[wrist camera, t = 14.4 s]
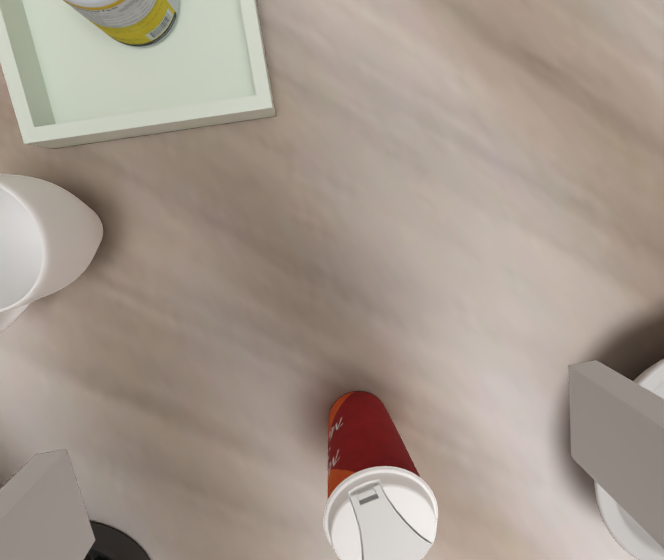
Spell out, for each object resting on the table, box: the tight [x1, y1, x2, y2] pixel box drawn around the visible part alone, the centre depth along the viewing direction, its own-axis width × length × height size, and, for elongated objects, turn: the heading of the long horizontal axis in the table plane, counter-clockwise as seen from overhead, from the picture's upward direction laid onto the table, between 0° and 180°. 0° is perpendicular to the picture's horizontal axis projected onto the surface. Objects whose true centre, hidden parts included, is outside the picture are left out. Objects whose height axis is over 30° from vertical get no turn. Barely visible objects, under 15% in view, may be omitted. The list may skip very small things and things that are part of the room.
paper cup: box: [323, 391, 438, 560], centre depth 33 cm, size 8×8×14 cm
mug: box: [0, 174, 103, 334], centre depth 30 cm, size 12×8×11 cm
